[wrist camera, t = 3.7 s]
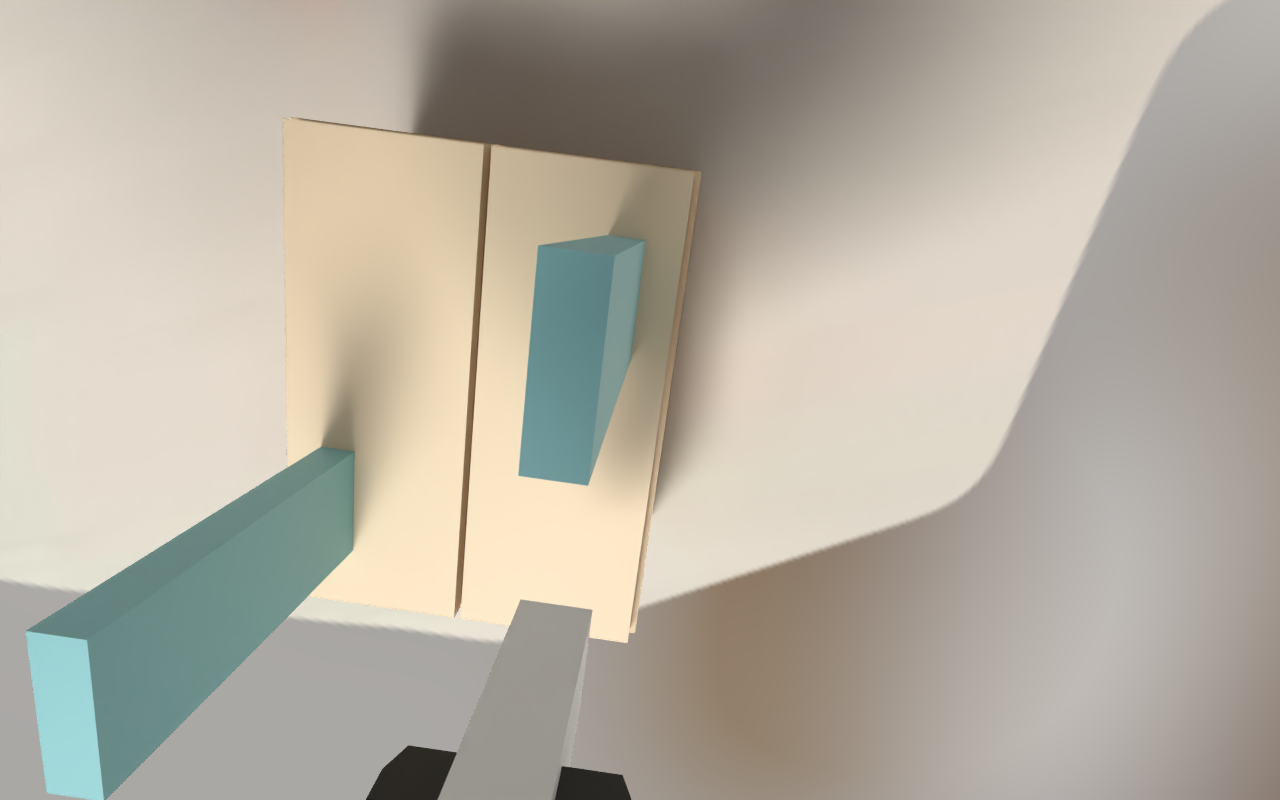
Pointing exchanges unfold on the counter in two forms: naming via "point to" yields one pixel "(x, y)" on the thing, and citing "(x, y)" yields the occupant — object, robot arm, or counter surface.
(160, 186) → the counter surface
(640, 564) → the carton
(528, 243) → the flap near
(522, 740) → the robot arm
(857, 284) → the counter surface
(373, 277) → the flap far
